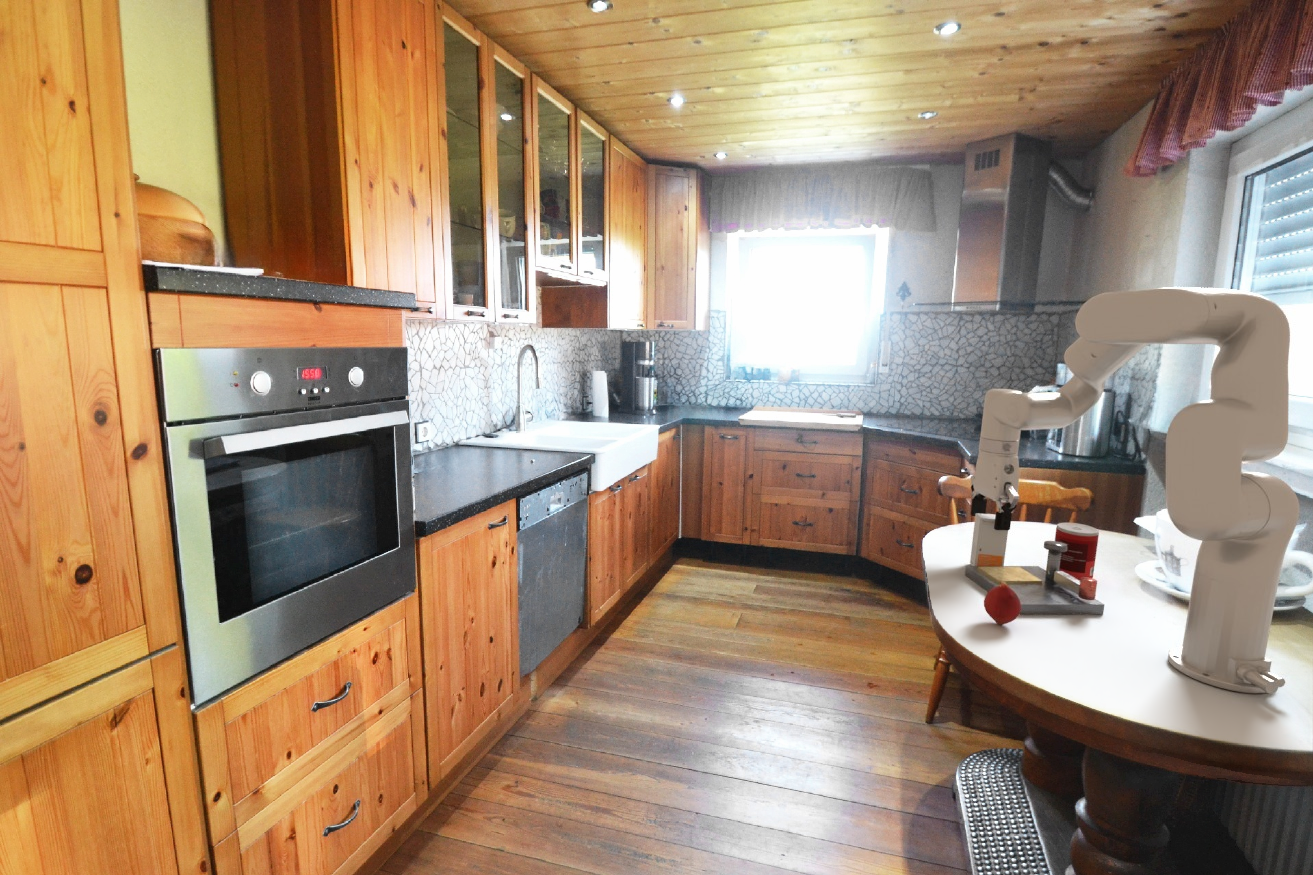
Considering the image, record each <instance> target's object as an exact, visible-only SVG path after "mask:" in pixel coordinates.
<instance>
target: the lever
mask: <svg viewBox="0 0 1313 875" xmlns="http://www.w3.org/2000/svg"><path fill="white" fill-rule="evenodd" d="M1054 581H1055V582H1057V583H1059V584H1060V585H1062V586H1064V587H1065V588H1067V589H1069V590H1070V591H1072V592H1074V593H1076V594H1077V595H1078V596H1079V597H1080V598H1082V599H1085V600H1095V599H1096V593H1097V586H1098V580H1097V579H1095V578H1088V577H1081V579H1080V580H1078V579H1076V578H1074V577H1072V576H1071V575H1069V574H1067V573H1065V572H1063V571H1055V573H1054Z"/></svg>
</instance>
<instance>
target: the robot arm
mask: <svg viewBox="0 0 1313 875" xmlns="http://www.w3.org/2000/svg"><path fill="white" fill-rule="evenodd" d="M1079 308H1080V309H1079V310H1078V312H1077V313H1076V316H1075V323H1074V324H1075V329H1076V332H1077V334H1078V335H1079V337H1077V339H1076V340H1075V341H1074V342H1073V343H1071V345H1069V346H1068V348H1067V349H1065V352H1064V354H1063V360H1064V363H1065V366H1066V367H1067V368H1068V370H1069V371H1070V372H1071V373H1072V374H1073V376H1072V377H1071V378H1070V379H1068V381H1067V382H1066V383H1065V384H1063V385H1062V386H1061V387H1060V388H1059V389H1057V390H1056V391H1054V392H1050V391H1049V392H1047V391H1045V392H1040V391H1039V392H1023V391H1020V390H1018V389H1017V390H1016V389H1010V388H990V389H989V390H987V392H986V393H985V395H984V403H983V411H982V420H981V429H980V437H979V444H978V455H977V460H976V464H975V468H974V469H975V470H974V474H973V475H971V476H970V485H971V487H970V490H971V493H970V494H971V505H970V514H969V515H970V517H971V516H972V517H975V514H976V513H980V514H987V513H986V512H987V511H986V510H987V503H988V499H989V500H991V501H994V502H995V504H996V508H997V510H996V511H995V515H996V516H995V524H994V529H995V530H1008V531H1010V530H1011V522H1012V518H1013V517H1012V516H1013V514H1014V513H1015V510H1016V509H1017V507H1018V502H1019V501H1020V499H1021V498H1020V495H1019V484H1020V483H1019V481H1020V460H1019V456H1018V453H1019V447H1020V440H1021V432H1022V431H1035V430H1037V431H1038V430H1057V429H1059V430H1060V429H1063V428H1065V427H1069V426H1070V425H1072V424H1073V423H1075V422H1077V421H1078V420H1079V419H1080V418H1081V417H1083V416H1084V415H1086V413H1088V412H1089V411H1090V410H1091V409H1093V407H1094V406H1096V405H1097V404H1098V402H1099V401H1100V399H1101V397H1102V395H1103V393H1104V390H1105V387H1106V380H1108V378H1110V376H1112V375H1113V374H1114V373H1115V372H1116V371H1118V370H1119V369H1120V368H1121V367H1122V366H1123V365H1125V364H1126V363H1127V362H1129V361H1130V360H1131V359H1132V358H1134V357H1135V356H1136V355H1137V354H1138V353H1139V352H1141V351H1142V349H1145V347H1147V345H1152V344H1153V345H1155V344H1156V345H1158V344H1160V345H1213V346H1218V347H1219V348H1220V349H1219V352H1218V354H1217V355H1216V358H1215V359H1214V362H1213V364H1212V368H1211V371H1210V372H1211V373H1210V387H1211V388H1210V399H1206V400H1205V399H1204V400H1200V401H1196V402H1193V403H1190V404H1187V405H1186V406H1184V407H1183V408H1182V409H1181V410H1179V411H1178V412H1177V413H1176V414H1175V416H1173V418H1172V420H1171V422H1170V424H1169V427H1168V429H1167V431H1166V432H1167V433H1166V438H1165V504H1166V510H1167V514H1168V516H1169V518H1170V521H1171V522H1172V525H1174V527H1175V528H1176V529H1177V530H1178V531H1179V532H1180V533H1182V534H1183V535H1185V536H1186V537H1189V538H1191V539H1194V540H1197V541H1201V543H1200V546H1199V549H1198V552H1197V555H1196V560H1195V565H1194V566H1195V567H1194V571H1193V578H1192V584H1191V592H1190V596H1189V603H1188V610H1187V617H1186V622H1185V626H1184V627H1185V628H1184V636H1183V639H1182V640H1183V641H1182V645H1181V646H1176V647H1173V648H1171V649H1170V650H1168V656H1167V661H1168V662H1169V664H1171V666H1172V667H1173V668H1175V669H1176V670H1177V671H1179V672H1181V673H1182V674H1184V675H1186V676H1188V677H1189V678H1192V679H1194V680H1197V681H1199V682H1202V683H1204V684H1208V685H1210V686H1213V687H1216V688H1219V689H1220V688H1221V689H1224V690H1229V691H1234V692H1239V693H1245V694H1264V693H1268V694H1274V693H1276V692H1277V691H1278V689H1279V688H1282V687H1284V686H1285V684H1286V680H1285V679H1284V678H1282V677H1281V676H1279V675H1277V674H1274V673H1272V672H1271V667H1272V662H1273V661H1272V660H1271V659H1269V658H1267V657H1266V654H1267V653H1266V652H1267V648H1268V642H1269V636H1270V631H1271V630H1270V629H1271V625H1272V620H1273V614H1274V607H1275V603H1276V598H1277V593H1278V587H1279V583H1280V578H1281V574H1282V573H1281V572H1282V568H1283V563H1284V559H1285V556H1286V552H1287V549H1288V546H1289V545H1290V542H1291V539H1292V537H1293V534H1294V532H1295V529H1296V527H1297V525H1298V521H1299V518H1300V517H1299V516H1300V502H1299V498H1298V496H1297V494H1296V493H1295V490H1294V489H1293V488H1291V486H1290V485H1289V484H1288V483H1286V482H1285V481H1283V480H1282V479H1280V478H1279V477H1276V476H1274V475H1272V474H1268V473H1265V472H1264V473H1263V472H1257V471H1243V472H1242V466H1243V464H1244V465H1245V464H1255V463H1260V462H1266V461H1269V460H1272V459H1273V458H1276V457H1277V456H1279V455H1280V454H1281V453H1282V452H1283V451H1284V450H1285V449H1286V447H1287V444H1288V440H1289V400H1290V399H1289V395H1290V394H1289V354H1290V344H1291V343H1290V342H1291V328H1290V324H1289V321H1288V318H1287V315H1286V314H1285V312H1284V311H1283V310H1282V308H1281V307H1280V306H1279V305H1278V304H1276V303H1275V302H1274V301H1272V300H1271V299H1269V298H1266V297H1264V296H1263V295H1260V294H1256V293H1254V292H1249V291H1244V290H1239V289H1238V290H1237V289H1228V288H1227V289H1226V288H1217V287H1216V288H1215V287H1214V288H1213V287H1208V288H1207V287H1205V288H1204V287H1202V288H1201V287H1188V286H1187V287H1186V286H1185V287H1183V286H1182V287H1180V286H1179V287H1177V286H1174V287H1159V288H1148V289H1137V290H1128V291H1112V292H1110V291H1109V292H1103V293H1100V294H1096V295H1094V296H1092V297H1091V298H1089V299H1088V300H1086V301H1085V302H1084V303H1083V304H1082V306H1081V307H1079ZM1003 503H1004V504H1003Z"/></svg>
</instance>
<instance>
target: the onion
mask: <svg viewBox="0 0 1313 875" xmlns="http://www.w3.org/2000/svg"><path fill="white" fill-rule="evenodd" d="M983 606H984V610H985V612H986V613H987V614H988V616H989V617H990V618H991V619H992V620H993V621H994V623H995V624H997V625H999V626H1002V625H1006V624H1009V623H1012V622H1013V621H1015V620H1016V619H1017V618H1018V617H1019V616H1020V615H1019V614H1020V612H1021V602H1020V600H1019V598H1018V596H1017V594H1016V593H1015V592H1014V591H1013V590H1012V589H1011V588H1010V587H1009V586H1008V585H1007V584H1006V583H1005V582H1003V581H1002V582H1000V586H997V587H995V588H993V589H991V590H990V591H989V592H988V591H987V593H986V595H985V597H984V599H983Z"/></svg>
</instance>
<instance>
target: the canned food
mask: <svg viewBox="0 0 1313 875" xmlns="http://www.w3.org/2000/svg"><path fill="white" fill-rule="evenodd" d="M1099 532H1100V531H1099V530H1098V529H1097V528H1095V527H1093V526H1090V525H1088V524H1082V523H1078V522H1059V523H1057V524H1056V529H1055V535H1054V541H1057V542H1061V543H1064V544H1066V545H1067V551H1066V552H1061V559H1060V567H1059V571H1063V572H1065V573H1067V574H1069V575H1071V576H1072V577H1074V578H1076V579H1078V580H1080V579H1081V577H1088V578H1092V579H1094V571H1095V564H1096V558H1097V551H1098V543H1099V535H1100V534H1099Z"/></svg>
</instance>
